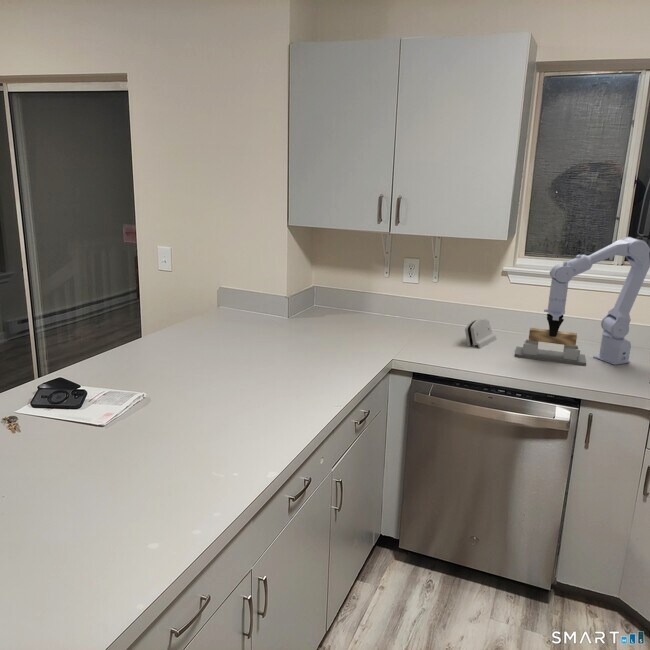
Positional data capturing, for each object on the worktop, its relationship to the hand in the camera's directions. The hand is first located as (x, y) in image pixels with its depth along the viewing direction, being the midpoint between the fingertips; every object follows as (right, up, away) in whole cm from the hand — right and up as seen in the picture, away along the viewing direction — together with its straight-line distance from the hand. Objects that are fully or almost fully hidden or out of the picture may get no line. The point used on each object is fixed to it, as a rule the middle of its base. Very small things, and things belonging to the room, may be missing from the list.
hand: (552, 335), depth 213 cm
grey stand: (-22, -3, +19) cm, 29 cm away
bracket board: (0, -8, +2) cm, 8 cm away
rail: (0, -3, +1) cm, 3 cm away
